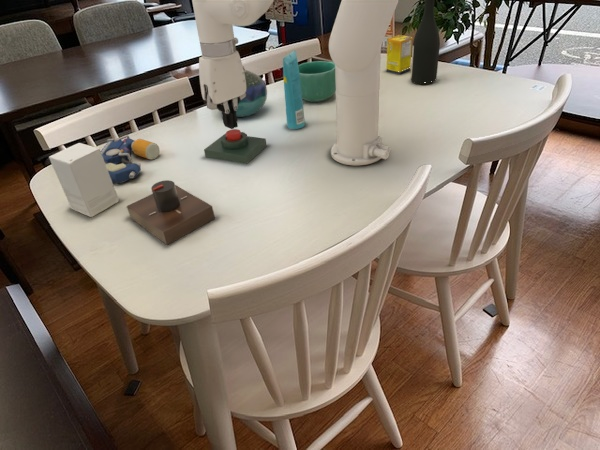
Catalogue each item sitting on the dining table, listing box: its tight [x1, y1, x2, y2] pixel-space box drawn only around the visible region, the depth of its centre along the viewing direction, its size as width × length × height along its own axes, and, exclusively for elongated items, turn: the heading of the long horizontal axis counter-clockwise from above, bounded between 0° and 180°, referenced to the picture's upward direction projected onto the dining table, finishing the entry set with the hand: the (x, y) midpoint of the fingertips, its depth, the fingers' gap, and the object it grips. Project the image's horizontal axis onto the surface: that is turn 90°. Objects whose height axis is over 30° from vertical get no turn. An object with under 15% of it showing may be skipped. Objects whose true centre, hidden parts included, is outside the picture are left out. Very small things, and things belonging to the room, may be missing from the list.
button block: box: [203, 131, 268, 165], centre depth 113 cm, size 12×10×4 cm
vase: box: [236, 66, 268, 118], centre depth 131 cm, size 15×15×13 cm
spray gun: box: [100, 134, 160, 184], centre depth 111 cm, size 21×4×15 cm
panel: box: [126, 184, 216, 246], centre depth 90 cm, size 14×11×3 cm
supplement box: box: [386, 34, 413, 75], centre depth 153 cm, size 6×6×11 cm
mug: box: [298, 60, 336, 103], centre depth 139 cm, size 17×13×10 cm
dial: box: [150, 179, 180, 212], centre depth 88 cm, size 4×4×5 cm
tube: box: [282, 49, 306, 130], centre depth 119 cm, size 7×5×19 cm, turn 162°
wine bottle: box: [410, 0, 441, 86], centre depth 137 cm, size 8×8×30 cm
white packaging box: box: [48, 142, 120, 218], centre depth 94 cm, size 7×7×13 cm
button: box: [225, 128, 242, 141], centre depth 111 cm, size 4×4×2 cm
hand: (231, 126), depth 110 cm, fingers closed
